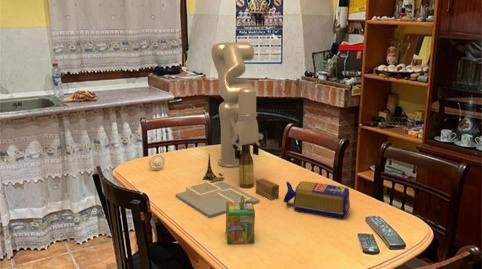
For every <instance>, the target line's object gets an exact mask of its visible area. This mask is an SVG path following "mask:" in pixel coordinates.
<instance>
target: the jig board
mask: <svg viewBox="0 0 482 269" xmlns="http://www.w3.org/2000/svg"><path fill="white" fill-rule="evenodd" d="M210 182H211V181H207V180H206V181H203V182H199V183H196V184H192V185H188V186H186V187H185V191H182V192H179V193H175V198H176V199H178V200H179V201H182V202H183V203H184V204H186V205H188V206H190V208H193V210H196V211H198V212H199V213H200V214H202V215H204V216H205V217H207V218H208V219H211V218H215V217H218V216H221V215H224V214H225V215H226V202H240V201H241V198H242V195H243V197H244V201H252V203H253V205H255V204H259V203H260V199H259V198H257V197H256V196H255V197H254V196H253V195H252V194H249V193H247V192H245V191H243V190H241V189H239V188H237V187H235V186H233V185H231V184H229V183H227V182H225V181H220V182H215V183H210Z"/></svg>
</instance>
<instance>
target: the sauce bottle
mask: <svg viewBox="0 0 482 269" xmlns="http://www.w3.org/2000/svg"><path fill="white" fill-rule="evenodd" d="M240 150H241V159H239V166H238V173H239V174H238V175H239V176H238V177H239V178H238V179H239V186H240V187H241V188H244V189H245V188H249V189H250V188H252V187H254V183H255V181H254V180H255V179H254V178H255V176H254V175H255V174H254V159H253V157H252V154H251V153H252V152H251V144H247V145H242V146H241V148H240Z"/></svg>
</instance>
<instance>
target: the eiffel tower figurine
mask: <svg viewBox="0 0 482 269" xmlns="http://www.w3.org/2000/svg"><path fill="white" fill-rule="evenodd" d="M207 162H208V164H207V170H206V172H205V175H204V176H203V178H202V179H201V180H202V181H206V182H207V181H208V182H210V183H212V184H214V183H220V182H224V180H225V179H226V178H225V177H224V175H223V173H221V172H219V173H217V175H219V177H217V176H216V175H215V173H214V171H213V170H212V169H213V168H212V166H211V165H212V164H211V155H210V153H208V161H207Z"/></svg>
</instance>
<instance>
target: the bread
mask: <svg viewBox="0 0 482 269" xmlns="http://www.w3.org/2000/svg"><path fill="white" fill-rule="evenodd" d="M286 187H287V191H286V194H284V198H283V203H286V205H287V204H288V203H289V202H290V201H291V200H293V203H292V204H293V209H294V210H295V212H301V213H306V214H311V215H318V216H321V217H329V218H335V219H339V218H340V220H344V219H345V217H346V216H347V214H348V212H349V209H350V208H351V205H350V204H351V203H350V189H349V188H348V187H347V186H346V187H345V186H339V185H335V184H334V185H333V184H327V183H322V182H315V181H314V182H312V181H304V180H303V181H300V182H299V183H298V184H297V186H296V187H295V190H294V189H293V186H292V184H291V183H290V182H289V181H286Z"/></svg>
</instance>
